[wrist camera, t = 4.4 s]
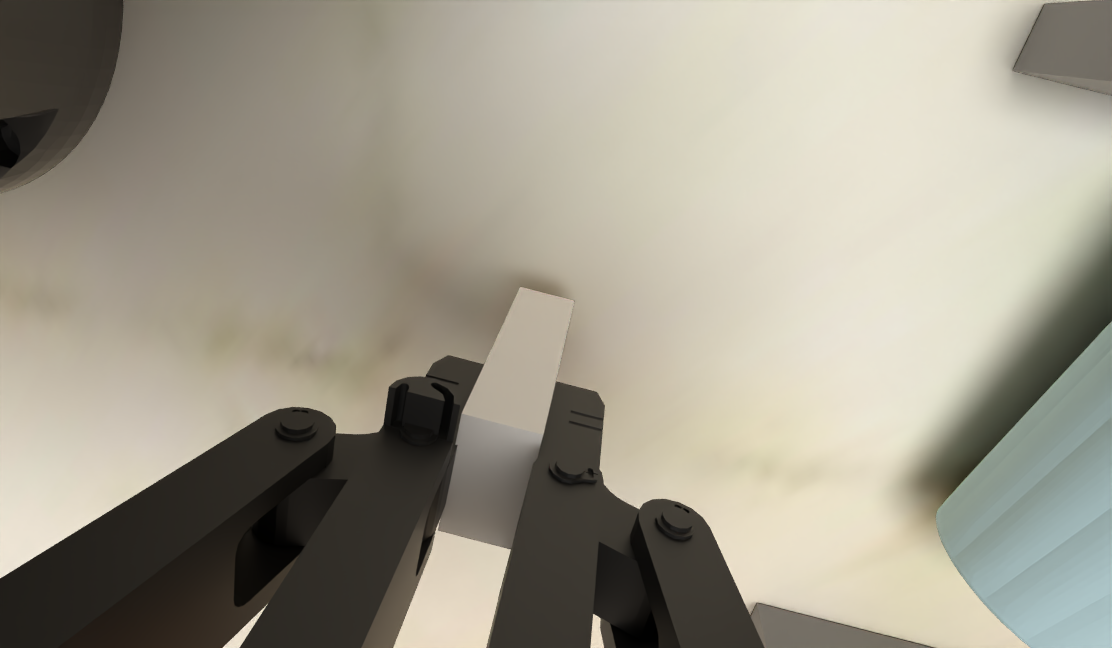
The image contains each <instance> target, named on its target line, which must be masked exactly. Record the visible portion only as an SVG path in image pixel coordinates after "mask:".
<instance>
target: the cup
mask: <svg viewBox="0 0 1112 648" xmlns="http://www.w3.org/2000/svg"><path fill="white" fill-rule="evenodd" d="M936 524H937V529H938V533H939V536H940V539H941V541H942V543H943V546H944V548H945V550H946V552H947V553H948V555H949V557H950V559H951V561H952V562H953V564H954V565H955V567H956V568H957V570H958V571H959V573H960V574H961V576H962V577H963V578H964V580H965V581H966V582H967V584H968V585H969V586H970V588H971V589H972V590H973V591H974V592H975V594H976V595H977V596H978V597H979V599H980V600H981V601H982V602H983V603H984V604H985V605H986V606H987V607H988V609H989V610H990V611H991V612H992V613H993V614H994V615H995V616H996V617H997V618H998V619H999V620H1000V621H1001V622H1002V623H1003V624H1004V625H1005V626H1006V627H1007V628H1008V629H1010V630H1011V631H1012V632H1013V633H1014V634H1015V635H1016V636H1017V637H1018V638H1019V639H1020V640H1022V641H1023V642H1024V643H1025V644H1027V645H1028V646H1029V647H1030V648H1112V321H1111V322H1110V323H1109V324H1108V325H1107V327H1106V328H1105V329H1104V330H1103V331H1102V332H1101V333H1100V334H1099V335H1098V336H1097V337H1096V338H1095V339H1094V341H1093V342H1092V343H1091V344H1090V345H1089V346H1088V347H1087V348H1086V349H1085V350H1084V351H1083V352H1082V353H1081V355H1080V356H1079V357H1078V358H1077V359H1076V360H1075V361H1074V362H1073V363H1072V364H1071V365H1070V366H1069V367H1068V369H1067V370H1066V371H1065V372H1064V373H1063V374H1062V375H1061V376H1060V377H1059V378H1058V379H1057V380H1056V381H1055V383H1054V384H1053V385H1052V386H1051V387H1050V388H1049V389H1048V390H1047V391H1046V392H1045V393H1044V394H1043V395H1042V397H1041V398H1040V399H1039V400H1038V401H1037V402H1036V403H1035V404H1034V405H1033V406H1032V407H1031V408H1030V409H1029V411H1028V412H1027V413H1026V414H1025V415H1024V416H1023V417H1022V418H1021V419H1020V420H1019V421H1018V422H1017V423H1016V425H1015V426H1014V427H1013V428H1012V429H1011V430H1010V431H1009V432H1008V433H1007V434H1006V435H1005V436H1004V437H1003V439H1002V440H1001V441H1000V442H999V443H998V444H997V445H996V446H995V447H994V448H993V449H992V450H991V451H990V453H989V454H988V455H987V456H986V457H985V458H984V459H983V460H982V461H981V462H980V463H979V464H978V465H977V467H976V468H975V469H974V470H973V471H972V472H971V473H970V474H969V475H968V476H967V477H966V478H965V480H964V481H963V482H962V483H961V484H960V485H959V486H958V487H957V488H956V489H955V491H954V492H953V493H952V494H951V495H950V496H949V497H948V498H947V499H946V500H945V502H944V503H943V504H942V505H941V506H940V508H939V509H938V510H937V513H936Z"/></svg>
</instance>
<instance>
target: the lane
mask: <svg viewBox="0 0 1112 648" xmlns="http://www.w3.org/2000/svg"><path fill="white" fill-rule="evenodd" d="M1013 71H1015V72H1019V73H1023V74H1027V75H1031V76H1035V77H1039V78H1043V79H1047V80H1051V81H1055V82H1059V83H1063V84H1068V85H1072V86H1076V87H1080V88H1084V89H1088V90H1092V91H1096V92H1100V93H1104V94H1108V95H1112V0H1091V1H1077V2H1062V3H1048V4H1044V6H1043V9H1042V11H1041V13H1040V15H1039V17H1038V19H1037V21H1036V23H1035V25H1034V27H1033V29H1032V31H1031V34H1030V36H1029V38H1028V40H1027V42H1026V44H1025V46H1024V48H1023V50H1022V52H1021V54H1020V56H1019V59H1018V61H1017V63H1016V65H1015V67H1014V69H1013ZM751 619H752V621H753V623H754V625H755V628H756V630H757V632H758V634H759V636H760V639H761V641H762V643H763V645H764V647H765V648H931V647H928V646H924V645H920V644H916V643H912V642H908V641H904V640H900V639H896V638H892V637H888V636H884V635H881V634H877V633H873V632H869V631H865V630H861V629H857V628H853V627H849V626H845V625H841V624H837V623H833V622H830V621H826V620H822V619H818V618H814V617H810V616H806V615H802V614H798V613H794V612H790V611H786V610H782V609H779V608H775V607H771V606H767V605H763V604H759V603H757V604H756V606H755V608H754V610H753V612H752V614H751Z"/></svg>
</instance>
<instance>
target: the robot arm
mask: <svg viewBox="0 0 1112 648" xmlns="http://www.w3.org/2000/svg"><path fill="white" fill-rule="evenodd" d="M122 17H123V0H0V193H2V192H5V191H9V190H12V189H15V188H17V187H20V186H22V185H25V184H27V183H29V182H31V181H33V180H35V179H36V178H38V177H40V176H42V175H43V174H45V173H46V172H48V171H49V170H51V169H52V168H54V167H55V166H56V165H57V164H58V163H59V162H61V161H62V160H63V159H64V158H65V157H66V156H67V155H68V154H69V153H70V152H71V151H72V150H73V149H74V148H75V147H76V146H77V145H78V143H79V142H80V141H81V139H82V138H83V137H84V135H85V134H86V133H87V131H88V130H89V128H90V126H91V125H92V123H93V122H94V120H95V118H96V116H97V114H98V112H99V110H100V108H101V107H102V105H103V102H104V100H105V97H106V95H107V92H108V90H109V87H110V84H111V80H112V77H113V74H114V70H115V66H116V62H117V57H118V52H119V46H120V39H121V31H122ZM574 302H575V301H574V300H570V299H566V298H562V297H558V296H554V295H550V294H546V293H543V292H539V291H535V290H531V289H527V288H523V287H520V289H519V291H518V293H517V295H516V297H515V299H514V302H513V304H512V306H511V308H510V310H509V312H508V314H507V317H506V319H505V321H504V323H503V325H502V327H501V330H500V332H499V334H498V336H497V338H496V340H495V343H494V345H493V347H492V349H491V351H490V353H489V355H488V358H487V360H486V362H485V364H480V363H476V362H472V361H468V360H465V359H461V358H457V357H453V356H449V355H448V356H446V357H444V358H442V359H441V360H439V361H437V362H435V363H433V365H432V366H431V368H430V370H429V371H428V373H427V375H426V377H407V378H404V379H400V380H397V381H395V382H394V383H393V384H392V385H391V386H389V391H388V397H387V404H386V411H385V418H384V425H383V426H382V428H381V429H380V431H379V432H377V433H371V434H335V433H336V425H335V423H334V422H333V420H332V419H331V418H330V417H329V416H327V415H326V414H324V413H322V412H320V411H317V410H313V409H310V408H300V407H290V408H284V409H278V410H276V411H273V412H271V413H268V414H266V415H264V416H263V417H261V418H260V419H258V420H256V421H255V422H253V423H251V424H250V425H248V426H247V427H245V428H243V429H242V430H240V431H239V432H237V433H235V434H234V435H232V436H230V437H229V438H227V439H226V440H224V441H222V442H221V443H219V444H217V445H216V446H214V447H213V448H211V449H209V450H208V451H206V452H204V453H203V454H201V455H200V456H198V457H196V458H195V459H193V460H192V461H190V462H188V463H187V464H185V465H183V466H182V467H180V468H179V469H177V470H175V471H174V472H172V473H170V474H169V475H167V476H166V477H164V478H162V479H161V480H159V481H158V482H156V483H154V484H153V485H151V486H149V487H148V488H146V489H145V490H143V491H141V492H140V493H138V494H136V495H135V496H133V497H132V498H130V499H128V500H127V501H125V502H123V503H122V504H120V505H119V506H117V507H115V508H114V509H112V510H111V511H109V512H107V513H106V514H104V515H102V516H101V517H99V518H98V519H96V520H94V521H93V522H91V523H89V524H88V525H86V526H85V527H83V528H81V529H80V530H78V531H77V532H75V533H73V534H72V535H70V536H68V537H67V538H65V539H64V540H62V541H60V542H59V543H57V544H55V545H54V546H52V547H51V548H49V549H47V550H46V551H44V552H42V553H41V554H39V555H38V556H36V557H34V558H33V559H31V560H30V561H28V562H26V563H25V564H23V565H21V566H20V567H18V568H17V569H15V570H13V571H12V572H10V573H8V574H7V575H5V576H4V577H2V578H0V648H222V647H224V646H225V645H226V644H227V643H228V642H229V641H230V640H231V639H232V638H233V637H234V636H235V635H236V634H237V633H238V632H239V631H240V630H241V629H242V628H243V627H244V626H245V625H246V624H247V623H248V622H249V621H250V620H251V619H252V618H253V617H254V616H256V615H257V614H258V613H259V612H260V611H261V610H262V609H263V608H264V607H265V606H266V605H267V604H268V605H267V606H266V608H265V609H264V611H263V612H262V614H261V616H260V617H259V619H258V620H257V622H256V623H255V625H254V626H253V628H252V629H251V631H250V633H249V634H248V636H247V637H246V639H245V640H244V642H243V643H242V645H241V647H240V648H393V646H394V644H395V641H396V639H397V636H398V634H399V631H400V629H401V626H402V624H403V621H404V619H405V616H406V613H407V611H408V608H409V606H410V603H411V601H412V598H413V596H414V593H415V591H416V588H417V586H418V583H419V581H420V578H421V575H422V573H423V570H424V568H425V565H426V563H427V560H428V558H429V555H430V553H431V550H432V545H433V540H434V535H435V530H436V527H437V525H438V523H439V520H440V523H439V528H438V530H439V531H442V532H446V533H450V534H454V535H458V536H461V537H465V538H469V539H473V540H477V541H481V542H484V543H488V544H492V545H496V546H500V547H504V548H507V549H511V552H510V556H509V559H508V563H507V567H506V571H505V575H504V578H503V582H502V586H501V590H500V594H499V597H498V603H497V607H496V611H495V615H494V619H493V623H492V627H491V631H490V635H489V639H488V643H487V647H486V648H590V645H591V632H592V620H593V614H595V615H597V616H598V617H600V618H601V625H600V629H601V634H602V639H603V643H604V648H765V647H764V645H763V643H762V641H761V639H760V636H759V634H758V632H757V630H756V628H755V625H754V623H753V621H752V619H751V617H750V614H749V612H748V610H747V608H746V606H745V604H744V601H743V599H742V597H741V595H740V593H739V590H738V588H737V586H736V584H735V582H734V579H733V577H732V575H731V573H730V571H729V568H728V566H727V564H726V562H725V560H724V558H723V555H722V553H721V551H720V549H719V547H718V544H717V542H716V540H715V538H714V536H713V533H712V531H711V529H710V527H709V526H708V524H707V523H706V522H705V520H704V519H703V517H701V516H700V515H699V514H698V513H696V512H695V511H694V510H693V509H691V508H689V507H687V506H685V505H683V504H681V503H679V502H676V501H671V500H667V499H653V500H650V501H648V502H646V503H644V504H643V505H642V507H641V508H640V510H639V509H637V508H635V507H633V506H631V505H629V504H627V503H626V502H624V501H622V500H621V499H619V498H617V497H616V496H615V495H614V494H612V493H611V492H610V491H609V490H608V489H607V488H606V486H605V485H604V484H603V477H602V472H601V471H600V470H599V466H600V455H601V443H602V430H603V419H604V409H605V405H604V404H603V402H602V400H601V398H600V397H599V395H598V393H597V392H595V391H591V390H587V389H583V388H579V387H575V386H571V385H567V384H564V383H560V382H556V379H557V374H558V370H559V366H560V362H561V357H562V353H563V349H564V344H565V340H566V336H567V332H568V327H569V323H570V319H571V315H572V310H573V306H574Z"/></svg>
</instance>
